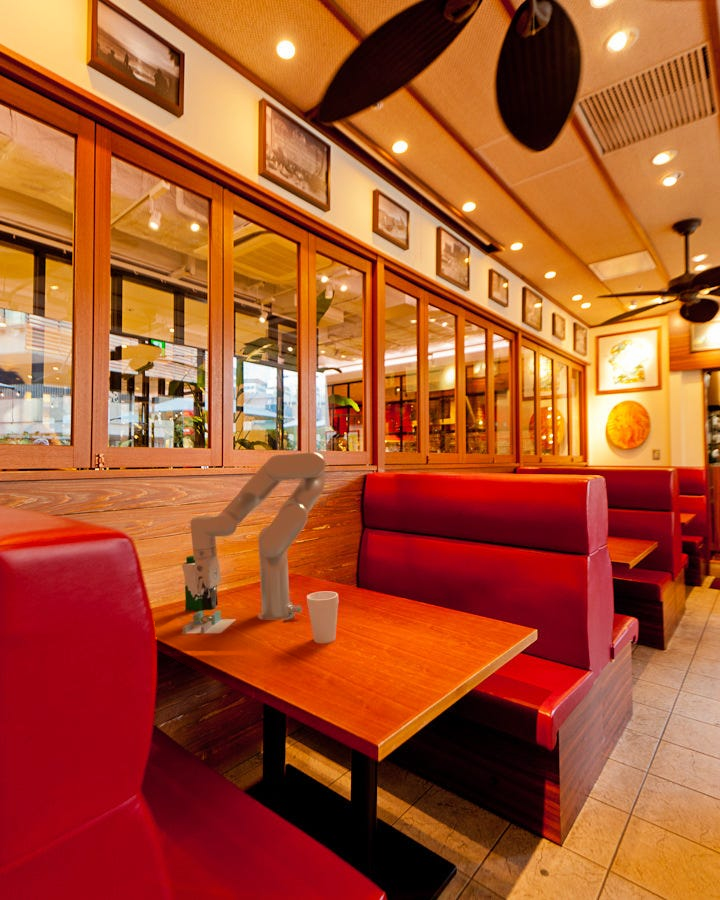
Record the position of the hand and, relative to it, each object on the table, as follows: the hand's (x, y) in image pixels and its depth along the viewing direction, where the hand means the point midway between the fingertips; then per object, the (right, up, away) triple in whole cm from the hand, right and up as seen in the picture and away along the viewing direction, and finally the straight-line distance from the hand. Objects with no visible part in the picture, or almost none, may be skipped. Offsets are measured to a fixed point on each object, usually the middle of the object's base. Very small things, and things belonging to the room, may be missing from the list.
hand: (210, 607), depth 166 cm
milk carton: (-9, -7, +17) cm, 21 cm away
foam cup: (+40, -4, -19) cm, 44 cm away
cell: (0, 0, 0) cm, 0 cm away
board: (+1, -6, -5) cm, 8 cm away
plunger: (-1, -4, 0) cm, 4 cm away
